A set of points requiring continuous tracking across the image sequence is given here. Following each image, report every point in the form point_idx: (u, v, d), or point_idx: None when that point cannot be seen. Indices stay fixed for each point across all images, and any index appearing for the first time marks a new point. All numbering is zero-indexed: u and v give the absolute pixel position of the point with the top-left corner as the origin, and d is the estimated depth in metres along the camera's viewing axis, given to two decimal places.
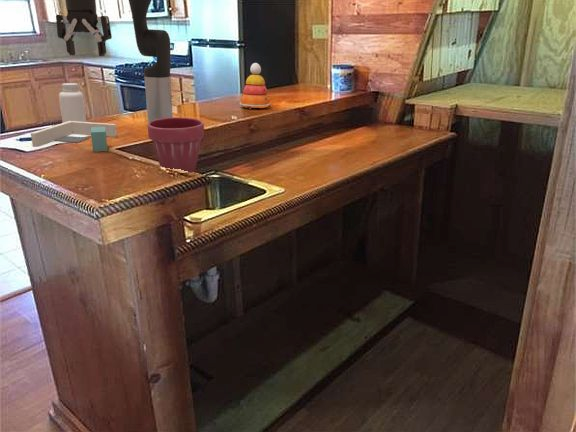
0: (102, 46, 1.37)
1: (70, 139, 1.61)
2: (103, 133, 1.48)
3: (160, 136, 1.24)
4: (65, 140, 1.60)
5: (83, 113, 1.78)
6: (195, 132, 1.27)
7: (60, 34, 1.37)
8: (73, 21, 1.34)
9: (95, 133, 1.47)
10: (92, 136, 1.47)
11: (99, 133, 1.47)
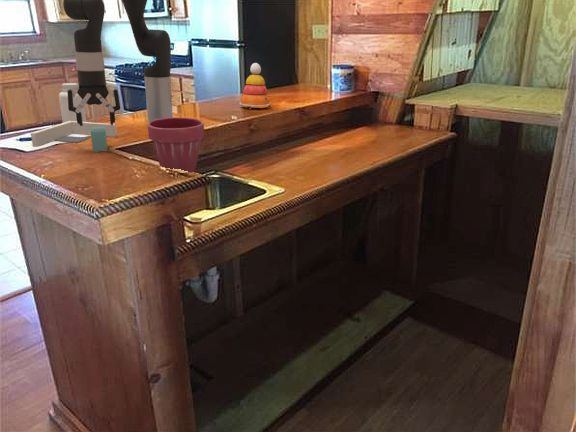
0: (113, 116, 1.50)
1: (70, 139, 1.61)
2: (103, 133, 1.48)
3: (160, 136, 1.24)
4: (65, 140, 1.60)
5: (83, 113, 1.78)
6: (195, 132, 1.27)
7: (71, 107, 1.45)
8: (87, 95, 1.44)
9: (95, 133, 1.47)
10: (92, 136, 1.47)
11: (99, 133, 1.47)
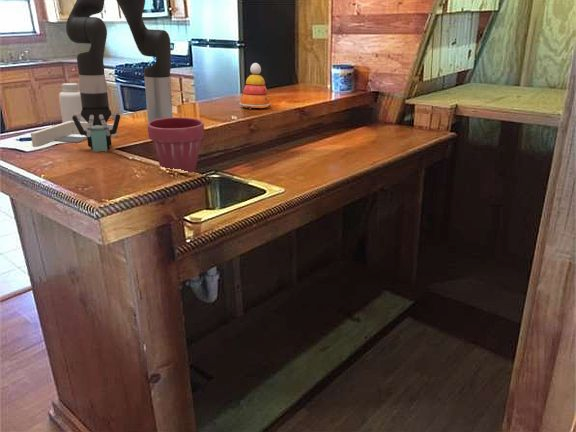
0: (110, 139, 1.52)
1: (70, 139, 1.61)
2: (103, 133, 1.48)
3: (160, 136, 1.24)
4: (65, 140, 1.60)
5: None
6: (195, 132, 1.27)
7: (82, 132, 1.48)
8: (90, 117, 1.47)
9: (95, 133, 1.47)
10: (92, 136, 1.47)
11: (99, 133, 1.47)
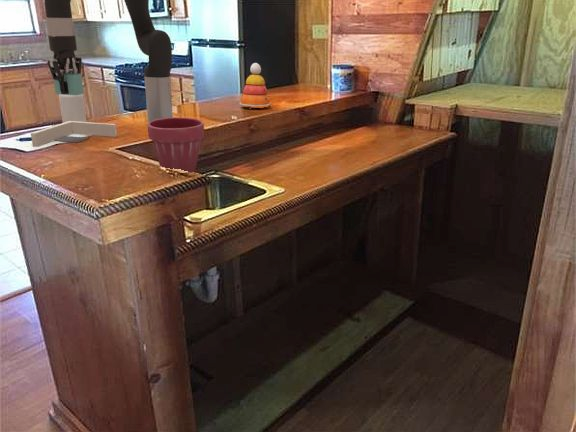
0: None
1: (70, 139, 1.61)
2: (80, 75, 1.54)
3: (160, 136, 1.24)
4: (65, 140, 1.60)
5: (83, 113, 1.78)
6: (196, 132, 1.27)
7: None
8: (67, 61, 1.50)
9: (76, 76, 1.52)
10: (74, 79, 1.52)
11: (78, 75, 1.53)
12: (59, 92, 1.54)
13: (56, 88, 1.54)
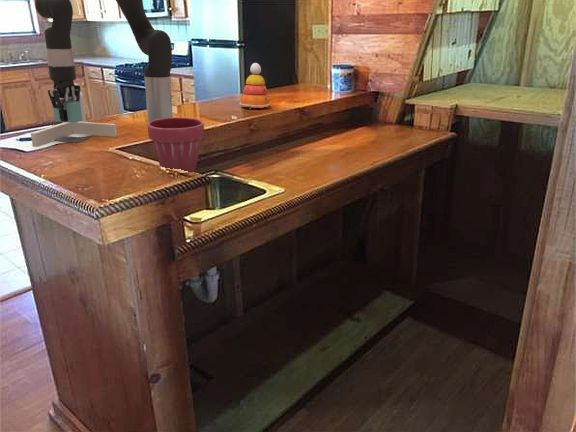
0: None
1: (70, 139, 1.61)
2: (79, 103, 1.59)
3: (160, 136, 1.24)
4: (65, 140, 1.60)
5: (83, 113, 1.78)
6: (195, 132, 1.27)
7: (61, 105, 1.54)
8: (67, 90, 1.55)
9: (75, 104, 1.57)
10: (73, 107, 1.56)
11: (77, 103, 1.58)
12: (58, 119, 1.58)
13: (55, 115, 1.58)
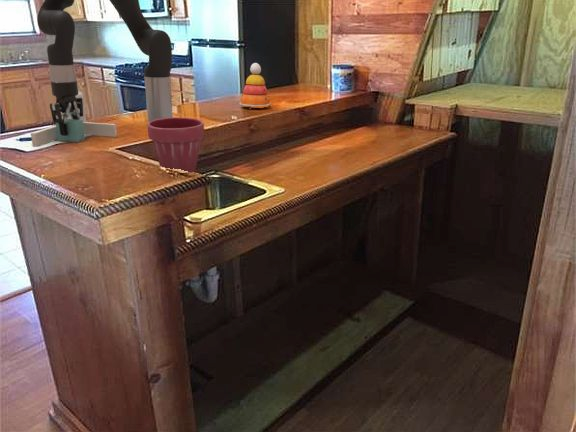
0: None
1: None
2: (81, 121, 1.61)
3: (160, 136, 1.24)
4: (65, 140, 1.60)
5: (83, 113, 1.78)
6: (195, 132, 1.27)
7: (61, 119, 1.54)
8: (69, 105, 1.56)
9: (77, 122, 1.59)
10: (76, 126, 1.58)
11: (79, 122, 1.60)
12: (61, 138, 1.60)
13: (58, 134, 1.60)
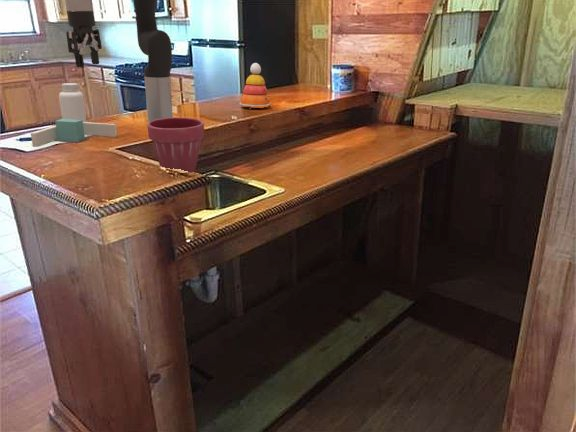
0: (97, 55, 1.60)
1: None
2: (81, 121, 1.61)
3: (160, 136, 1.24)
4: (65, 140, 1.60)
5: (83, 113, 1.78)
6: (195, 132, 1.27)
7: (77, 49, 1.48)
8: (86, 36, 1.51)
9: (77, 122, 1.59)
10: (76, 126, 1.58)
11: (79, 122, 1.60)
12: (61, 138, 1.60)
13: (58, 134, 1.60)
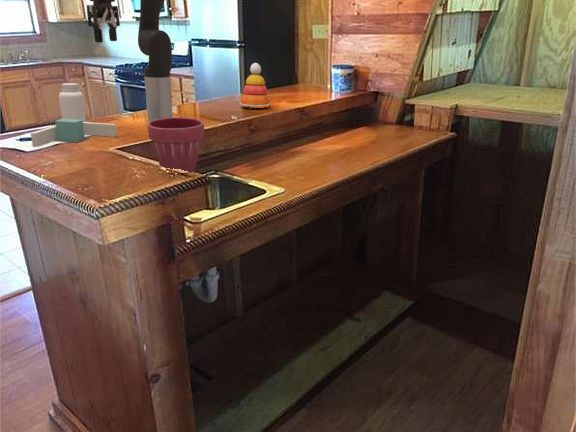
0: (115, 32, 1.59)
1: None
2: (81, 121, 1.61)
3: (160, 136, 1.24)
4: (65, 140, 1.60)
5: (83, 113, 1.78)
6: (196, 132, 1.27)
7: (97, 23, 1.48)
8: (106, 11, 1.50)
9: (77, 122, 1.59)
10: (76, 126, 1.58)
11: (79, 122, 1.60)
12: (61, 138, 1.60)
13: (58, 134, 1.60)
